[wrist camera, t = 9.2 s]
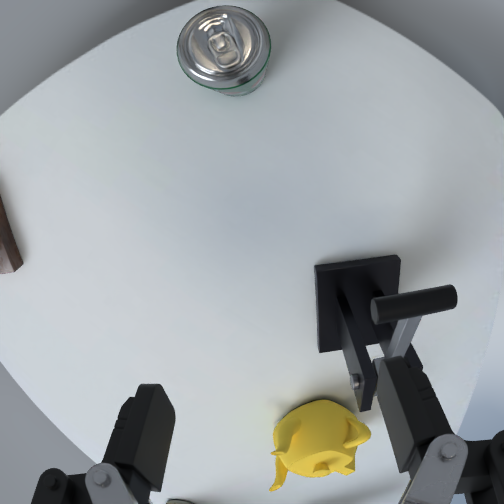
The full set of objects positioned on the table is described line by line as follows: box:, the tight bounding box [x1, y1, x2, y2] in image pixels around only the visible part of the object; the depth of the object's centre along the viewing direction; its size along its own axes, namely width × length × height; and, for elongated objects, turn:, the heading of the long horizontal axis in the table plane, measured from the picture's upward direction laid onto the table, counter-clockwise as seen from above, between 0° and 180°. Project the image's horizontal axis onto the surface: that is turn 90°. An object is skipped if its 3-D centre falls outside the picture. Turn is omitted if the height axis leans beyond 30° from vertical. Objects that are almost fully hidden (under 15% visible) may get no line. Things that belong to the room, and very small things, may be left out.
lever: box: [371, 285, 457, 396], centre depth 21 cm, size 12×6×2 cm, turn 8°
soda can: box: [177, 6, 271, 96], centre depth 19 cm, size 5×5×12 cm
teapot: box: [269, 400, 371, 491], centre depth 39 cm, size 14×13×10 cm
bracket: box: [314, 255, 423, 412], centre depth 28 cm, size 11×9×13 cm
